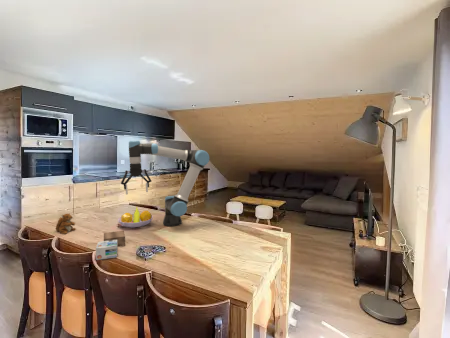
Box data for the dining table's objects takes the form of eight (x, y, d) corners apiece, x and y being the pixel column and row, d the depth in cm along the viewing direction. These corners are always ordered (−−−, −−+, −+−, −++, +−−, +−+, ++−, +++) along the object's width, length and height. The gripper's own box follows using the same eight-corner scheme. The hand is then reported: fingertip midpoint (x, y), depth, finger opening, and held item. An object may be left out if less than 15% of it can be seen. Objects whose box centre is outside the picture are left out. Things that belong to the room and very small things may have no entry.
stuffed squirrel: (65, 234, 170) (65, 216, 169) (50, 232, 174) (49, 214, 173) (78, 230, 180) (77, 212, 179) (63, 228, 184) (62, 211, 183)
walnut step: (124, 239, 163) (123, 230, 163) (125, 245, 152) (125, 236, 152) (104, 241, 158) (103, 232, 157) (103, 248, 147) (103, 239, 147)
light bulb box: (117, 239, 145) (116, 245, 135) (117, 250, 146) (117, 257, 136) (97, 241, 141) (95, 248, 131) (97, 252, 142) (95, 260, 132)
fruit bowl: (147, 230, 181) (147, 215, 180) (111, 230, 181) (110, 215, 180) (158, 220, 209) (158, 207, 208) (127, 219, 209) (126, 206, 208)
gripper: (152, 161, 178) (153, 190, 180) (115, 163, 166) (117, 194, 168) (154, 162, 172) (156, 191, 174) (116, 164, 160) (118, 196, 162)
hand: (137, 193), depth 171 cm, fingers open, 13 cm apart
